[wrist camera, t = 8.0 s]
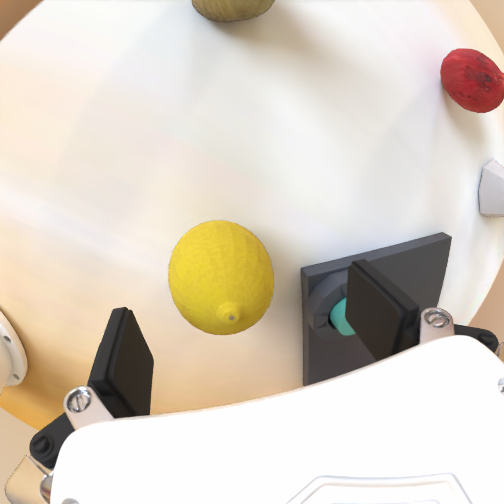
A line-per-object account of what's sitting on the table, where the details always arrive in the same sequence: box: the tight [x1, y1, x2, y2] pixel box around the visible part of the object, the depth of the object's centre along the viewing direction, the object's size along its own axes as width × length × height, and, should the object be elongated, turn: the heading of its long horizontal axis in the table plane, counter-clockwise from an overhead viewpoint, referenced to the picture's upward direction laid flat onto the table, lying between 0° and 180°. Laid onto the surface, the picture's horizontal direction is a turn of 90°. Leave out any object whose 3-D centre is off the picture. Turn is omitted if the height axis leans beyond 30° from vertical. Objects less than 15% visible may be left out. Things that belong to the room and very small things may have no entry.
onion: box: [440, 49, 504, 113], centre depth 13 cm, size 6×6×8 cm
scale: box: [301, 232, 452, 387], centre depth 23 cm, size 16×14×3 cm
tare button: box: [330, 297, 355, 336], centre depth 19 cm, size 3×3×2 cm
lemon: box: [168, 221, 274, 335], centre depth 15 cm, size 6×6×8 cm
